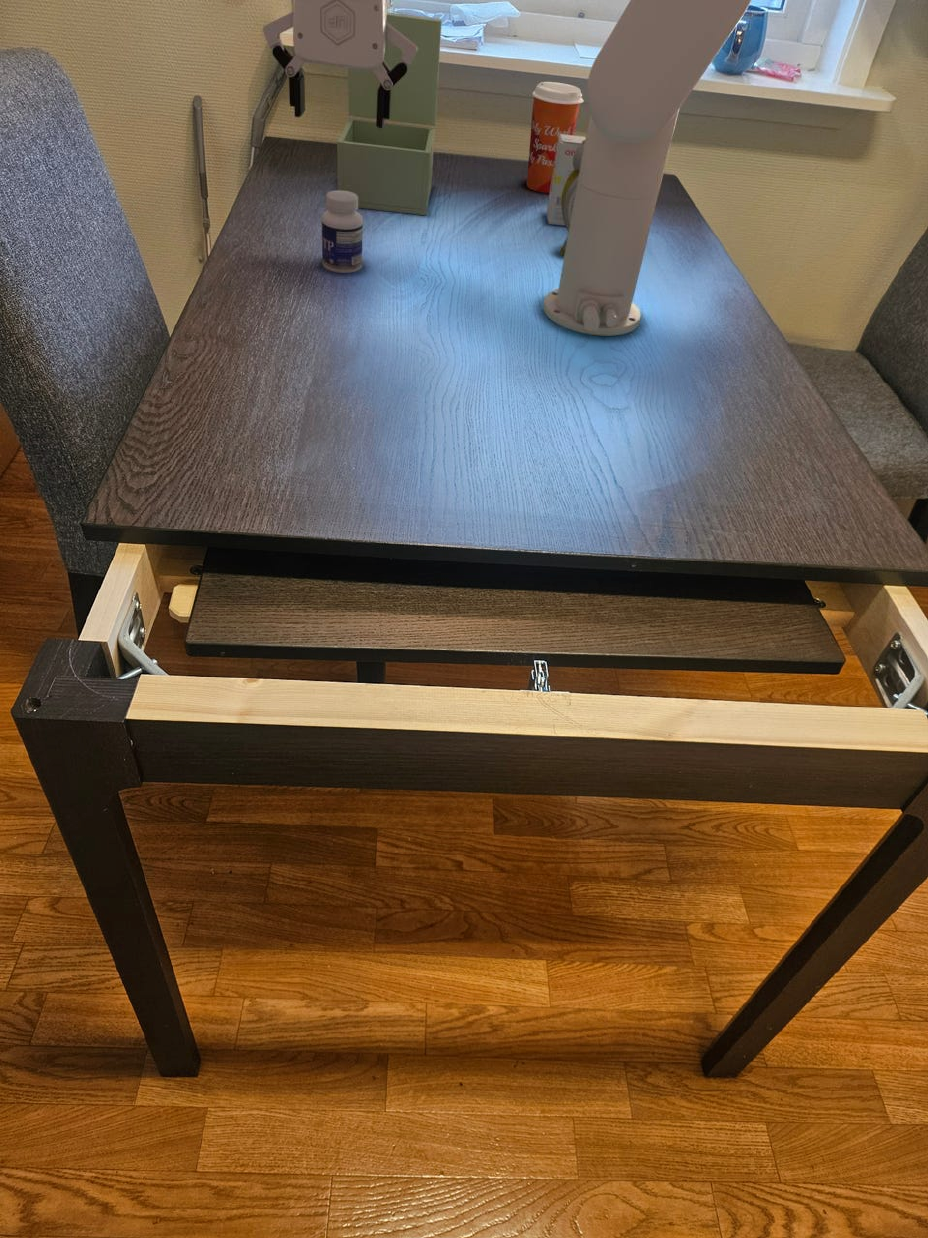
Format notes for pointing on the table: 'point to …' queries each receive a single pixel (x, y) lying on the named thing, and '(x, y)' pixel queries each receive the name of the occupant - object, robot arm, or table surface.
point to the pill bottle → (342, 233)
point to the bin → (386, 165)
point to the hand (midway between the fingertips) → (340, 119)
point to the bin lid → (415, 88)
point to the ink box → (561, 175)
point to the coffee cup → (550, 129)
